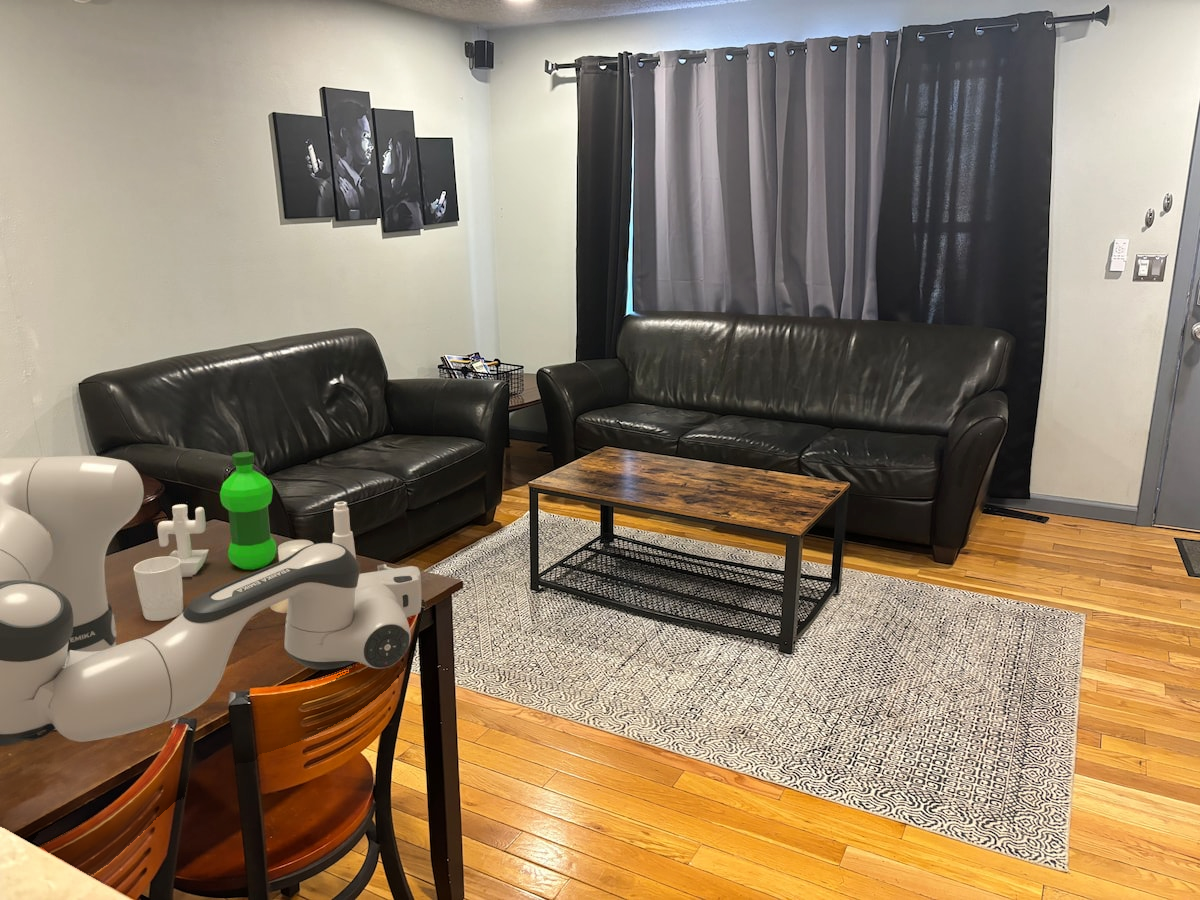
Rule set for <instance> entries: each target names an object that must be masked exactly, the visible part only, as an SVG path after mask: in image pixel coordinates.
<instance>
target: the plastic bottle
mask: <svg viewBox="0 0 1200 900" xmlns="http://www.w3.org/2000/svg"><path fill="white" fill-rule="evenodd" d="M231 459H232V465H233V466H235V471H234V472H233V473H232V474H230V476H229V477H228V478H227V479H225V481H224V482H222V485H221V487H220V488H221V489H220V492H219V497H220V503H221V505H222V507H224V508H225V509H226V510H227V511H228V512H227V513H228V520H229V529H230V530H229V531H230V537H231V541H230V543H229V547H228V551H227V557H228V559H229V562H231V564H233V566H236V567H237V568H239V569H241V570H245V571H248V570H250V571H253V570H260V569H263V568H265V567H267V566H269V564H270V563H272V562H273V560H274V559H275V557H276V553H277V542H276V541H275V539H274V537H273V536H272V534H271V527H270V526H271V525H270V516H269V505H271V503H272V499H273V493H274V492H273V490H274V489H273V484H272V482H271V479H268V478H267V476H264V475H263V474H261V473H260V472H258V471H256V470H255V469H253V464H255V453H254V452H251V451H242V452H235V453H233V454H232V455H231Z"/></svg>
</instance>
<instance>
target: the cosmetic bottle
mask: <svg viewBox="0 0 1200 900" xmlns="http://www.w3.org/2000/svg"><path fill="white" fill-rule="evenodd" d="M347 505H348V502H346V501H337V502H334V505H333V506H334V508H333V511H332V513H333V526H334V532H333V533H332V543H335V544H339V545H342V546H344V547H345V548H346V549H347V550H349V551H350V553H351V554H352V555H353V556H354V557H355V559H356V560H357V558H356V557H357V555H356V548H355V540H354V534H353V531H352V530H351V525H350V524H351V523H350V508H349V507H348V506H347Z"/></svg>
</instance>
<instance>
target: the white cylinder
mask: <svg viewBox="0 0 1200 900" xmlns="http://www.w3.org/2000/svg"><path fill="white" fill-rule="evenodd" d="M312 544H315V543H314V542H313V541H311V540H308V539H293V540H288V541H284V542H283V543H280V544H279V545H278V546H277V555H278V562H280V561H282V560H284V559H286V558H288V557H289V556H291V555H293V554H294V553H296V552H297V551H299V550H301V549H302V548H304V547H306V546H309V545H312Z"/></svg>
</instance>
